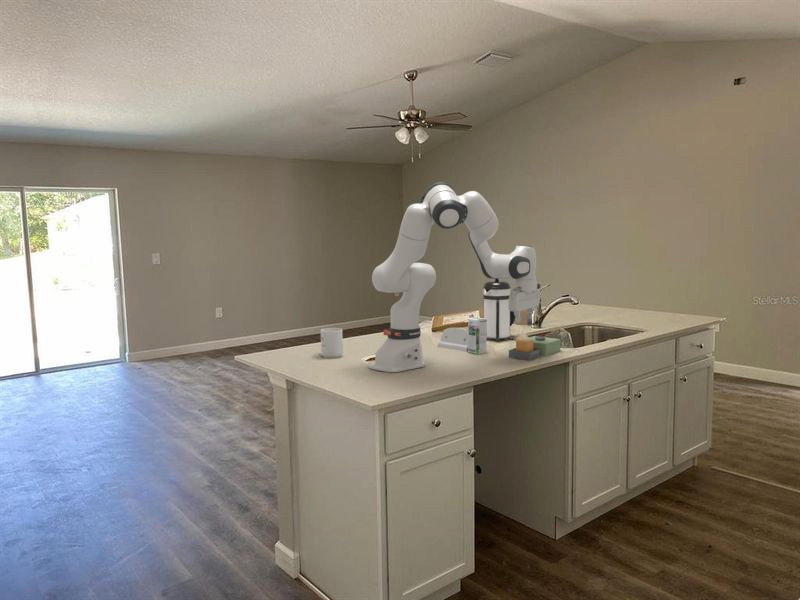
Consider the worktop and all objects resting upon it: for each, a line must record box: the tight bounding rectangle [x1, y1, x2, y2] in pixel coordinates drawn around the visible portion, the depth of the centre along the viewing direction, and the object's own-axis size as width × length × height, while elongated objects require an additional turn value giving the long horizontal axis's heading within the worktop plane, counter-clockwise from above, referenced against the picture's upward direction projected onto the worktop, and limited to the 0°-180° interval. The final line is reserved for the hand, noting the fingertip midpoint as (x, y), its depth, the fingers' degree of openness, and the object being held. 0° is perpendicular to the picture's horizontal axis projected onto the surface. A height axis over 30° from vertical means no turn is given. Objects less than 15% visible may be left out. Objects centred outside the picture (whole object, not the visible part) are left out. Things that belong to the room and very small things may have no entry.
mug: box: [320, 327, 344, 359], centre depth 250 cm, size 12×9×11 cm
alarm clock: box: [510, 309, 533, 326], centre depth 327 cm, size 19×20×12 cm
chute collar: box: [508, 347, 541, 361], centre depth 244 cm, size 9×9×3 cm
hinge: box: [437, 327, 468, 353], centre depth 263 cm, size 17×5×10 cm, turn 46°
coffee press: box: [482, 278, 515, 343], centre depth 281 cm, size 17×16×30 cm
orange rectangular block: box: [515, 337, 533, 352], centre depth 243 cm, size 5×5×7 cm
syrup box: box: [467, 317, 488, 355], centre depth 253 cm, size 6×6×14 cm
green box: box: [526, 335, 561, 357], centre depth 253 cm, size 13×12×6 cm
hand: (523, 320), depth 243 cm, fingers open, 8 cm apart
